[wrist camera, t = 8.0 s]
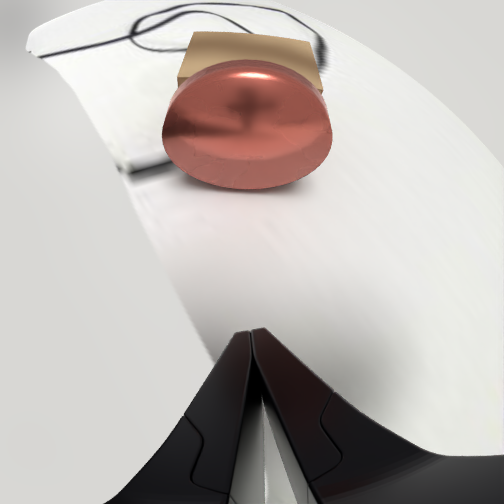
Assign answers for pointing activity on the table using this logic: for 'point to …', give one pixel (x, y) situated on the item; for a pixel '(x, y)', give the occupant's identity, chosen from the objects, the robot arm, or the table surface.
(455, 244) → the table surface
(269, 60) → the tan block
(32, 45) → the table surface
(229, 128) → the copper disc handle
